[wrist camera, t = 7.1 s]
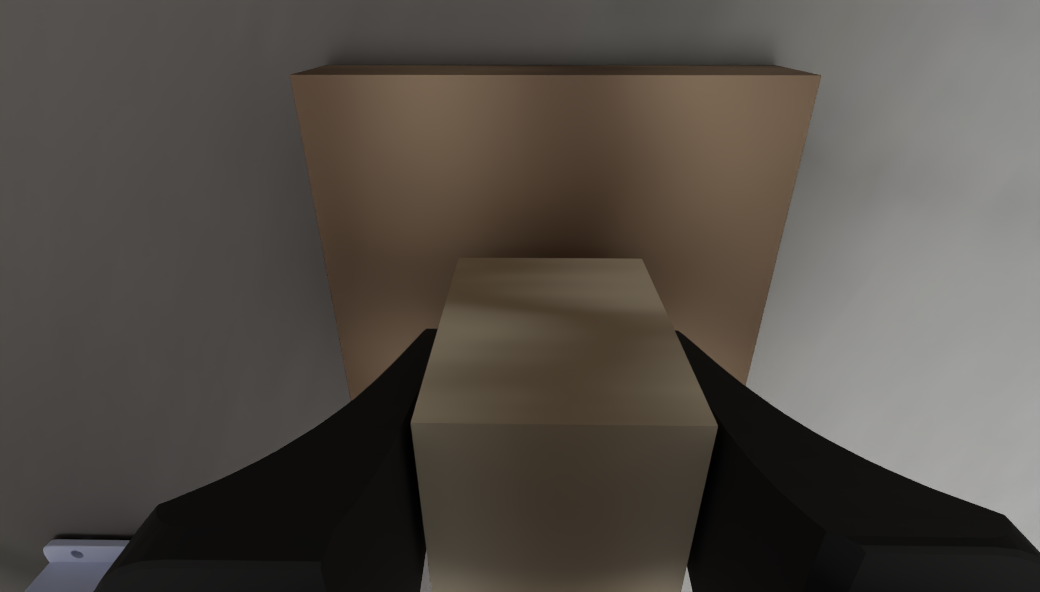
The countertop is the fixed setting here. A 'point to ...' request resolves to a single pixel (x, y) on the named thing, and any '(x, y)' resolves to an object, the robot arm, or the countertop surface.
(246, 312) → the countertop surface
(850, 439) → the countertop surface
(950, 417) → the countertop surface
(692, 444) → the maple block
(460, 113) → the walnut base
